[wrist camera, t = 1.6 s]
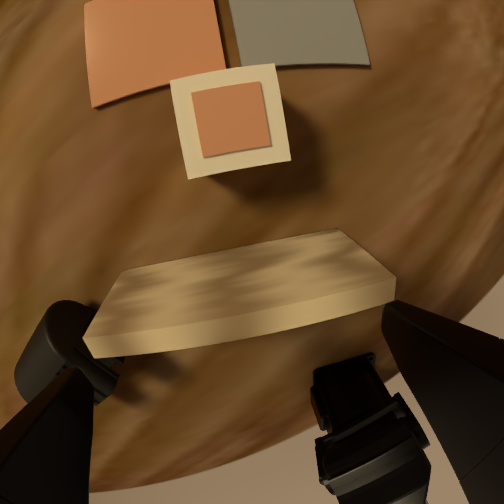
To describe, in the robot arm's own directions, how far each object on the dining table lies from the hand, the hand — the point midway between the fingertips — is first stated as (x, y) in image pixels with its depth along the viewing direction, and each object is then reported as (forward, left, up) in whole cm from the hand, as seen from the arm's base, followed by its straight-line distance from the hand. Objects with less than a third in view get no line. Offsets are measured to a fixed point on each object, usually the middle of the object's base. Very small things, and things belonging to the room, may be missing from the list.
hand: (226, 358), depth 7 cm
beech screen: (0, +4, -13) cm, 14 cm away
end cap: (+15, +8, -13) cm, 22 cm away
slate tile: (-8, -14, -13) cm, 21 cm away
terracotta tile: (+2, -14, -13) cm, 19 cm away
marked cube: (-2, -6, -13) cm, 15 cm away
